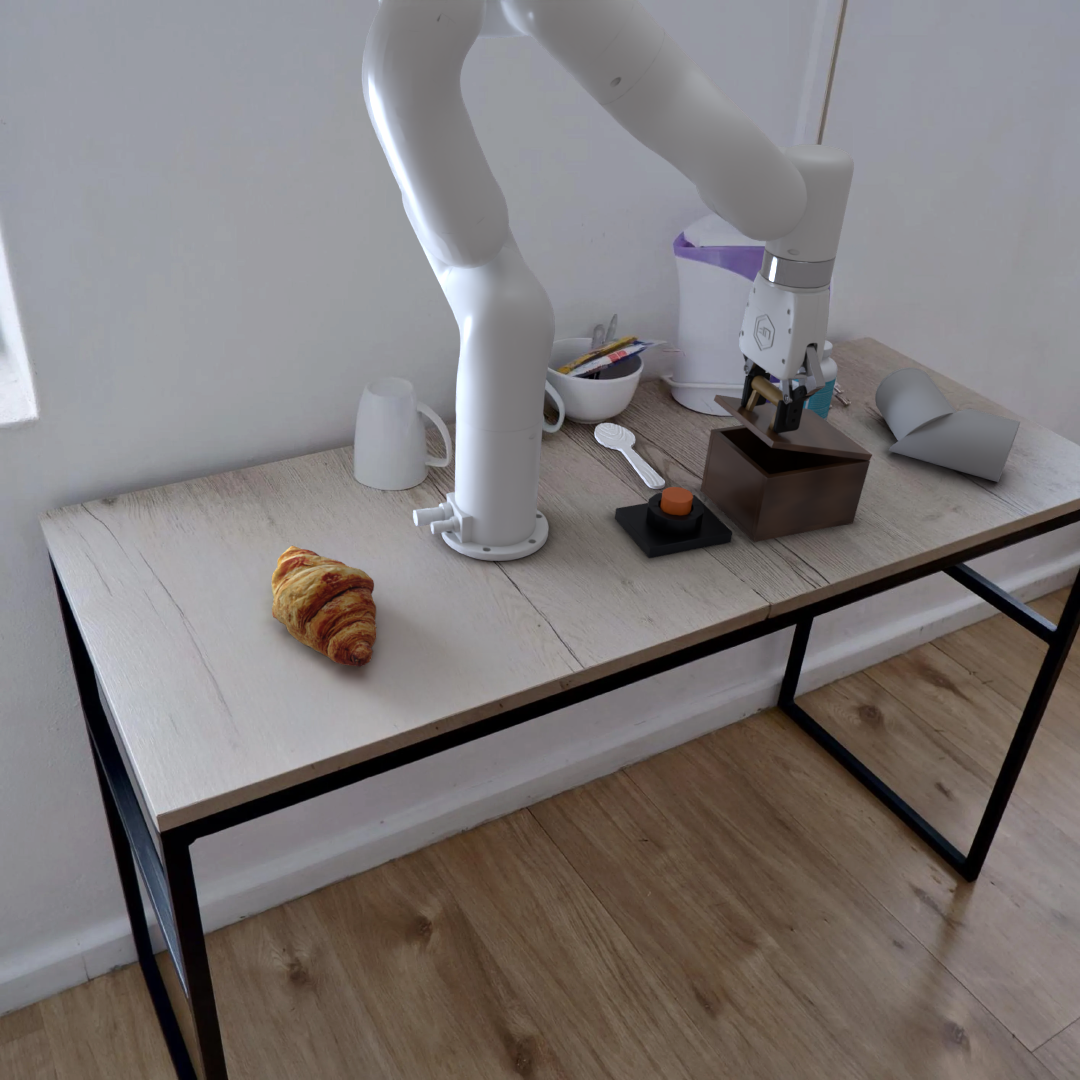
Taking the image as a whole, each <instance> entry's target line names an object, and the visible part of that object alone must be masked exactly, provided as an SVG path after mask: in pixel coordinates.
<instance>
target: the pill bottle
mask: <svg viewBox="0 0 1080 1080" xmlns="http://www.w3.org/2000/svg"><path fill="white" fill-rule="evenodd" d="M832 353H833V343H832V342H830V341H829V340H827V339H826V340H825V346H824V351H823V356H822V360H821V364H820V366H821V370H822V373H823V376H824V380H825V387H824V388H822V389H821V390H819V391H818V392H816V393H815V394H814V395H812V396H811V397H809V400H807V401H804V405H803V408H805V409H811V410H812V411H813V412H815V413H816V414H818V415H819V416H820V417H822V418H823V419H824V420H826V421H827V420H828V415H829V411H830V407H831V403H832V398H833V393H834V389H835V384H836V380H837V377H838V376H837V375H838V368H839V367H838V365H837V362H836V361H835V360H834V359H833V358H832V357H831V355H832ZM797 373H799V371H798V372H797ZM798 386H799V381H798V379H796V380H792V387H793V390H794V389H795V388H797V387H798ZM778 388H779V389H781V390H782V380H779V384H778ZM782 391H783V390H782Z"/></svg>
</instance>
